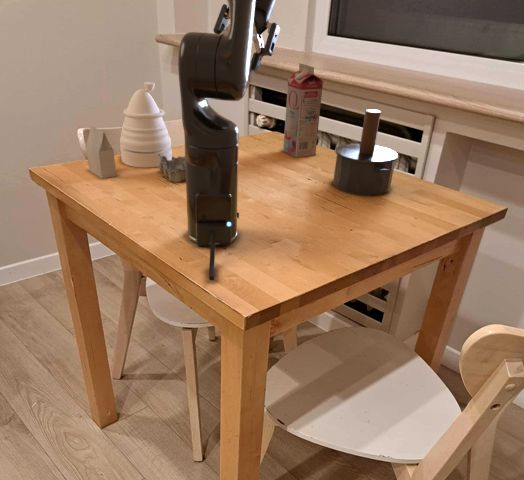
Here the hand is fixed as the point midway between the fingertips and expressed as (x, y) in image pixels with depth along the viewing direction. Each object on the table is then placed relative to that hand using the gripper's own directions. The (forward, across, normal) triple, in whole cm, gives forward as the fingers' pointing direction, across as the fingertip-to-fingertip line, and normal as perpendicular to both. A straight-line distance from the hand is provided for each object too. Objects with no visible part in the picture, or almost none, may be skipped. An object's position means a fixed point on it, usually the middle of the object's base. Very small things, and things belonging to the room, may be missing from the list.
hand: (234, 65), depth 117 cm
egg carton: (+27, -5, 0) cm, 28 cm away
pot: (+13, +34, +16) cm, 40 cm away
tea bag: (+33, -20, -8) cm, 40 cm away
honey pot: (+28, -18, +6) cm, 34 cm away
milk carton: (+11, +11, +33) cm, 36 cm away
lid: (+6, +33, +13) cm, 36 cm away
